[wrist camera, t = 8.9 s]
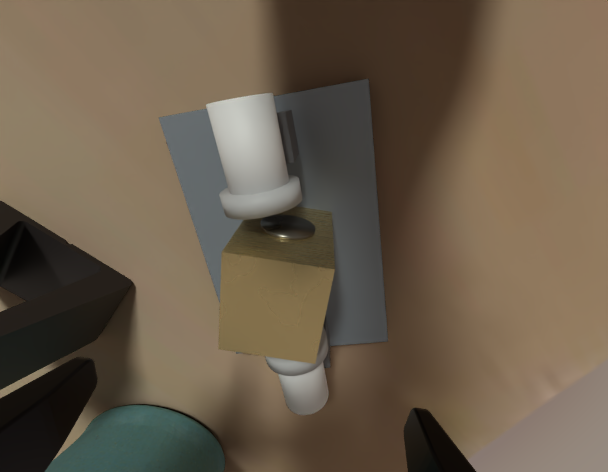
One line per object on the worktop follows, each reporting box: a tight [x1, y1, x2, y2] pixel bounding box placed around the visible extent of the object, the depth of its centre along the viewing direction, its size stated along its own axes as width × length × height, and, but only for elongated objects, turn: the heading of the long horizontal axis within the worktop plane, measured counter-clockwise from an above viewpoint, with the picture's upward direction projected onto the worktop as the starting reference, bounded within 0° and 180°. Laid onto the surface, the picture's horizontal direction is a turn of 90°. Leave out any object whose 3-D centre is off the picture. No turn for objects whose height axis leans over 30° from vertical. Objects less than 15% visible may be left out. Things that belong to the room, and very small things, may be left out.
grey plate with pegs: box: [159, 79, 388, 415], centre depth 15 cm, size 15×10×6 cm, turn 9°
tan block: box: [218, 206, 335, 364], centre depth 14 cm, size 5×4×6 cm
